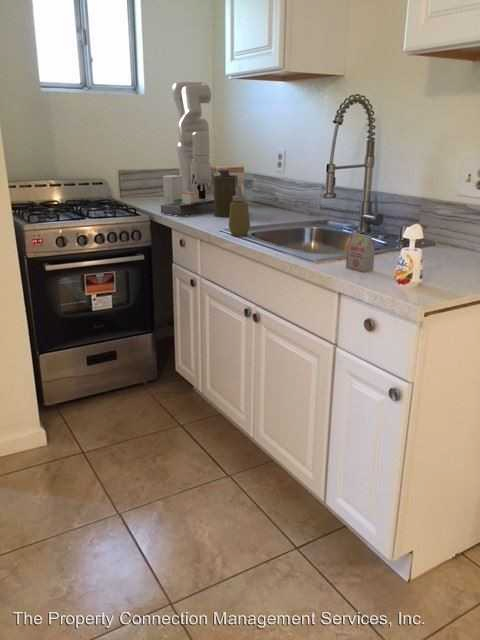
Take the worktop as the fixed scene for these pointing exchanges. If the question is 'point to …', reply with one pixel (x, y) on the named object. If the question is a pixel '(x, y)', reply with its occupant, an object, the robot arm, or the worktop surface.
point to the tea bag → (360, 253)
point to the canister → (224, 193)
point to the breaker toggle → (189, 197)
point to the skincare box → (172, 189)
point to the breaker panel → (188, 208)
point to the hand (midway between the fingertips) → (202, 198)
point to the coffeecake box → (233, 171)
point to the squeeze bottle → (239, 215)
